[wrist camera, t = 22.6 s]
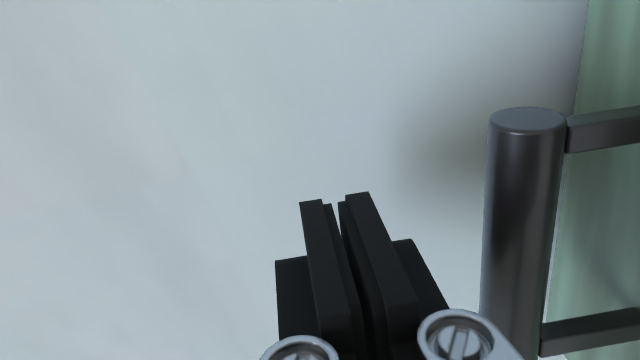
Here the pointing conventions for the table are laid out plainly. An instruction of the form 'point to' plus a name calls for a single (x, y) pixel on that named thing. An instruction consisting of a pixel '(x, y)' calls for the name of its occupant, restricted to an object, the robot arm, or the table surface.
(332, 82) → the table surface
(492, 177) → the drawer
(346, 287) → the robot arm
